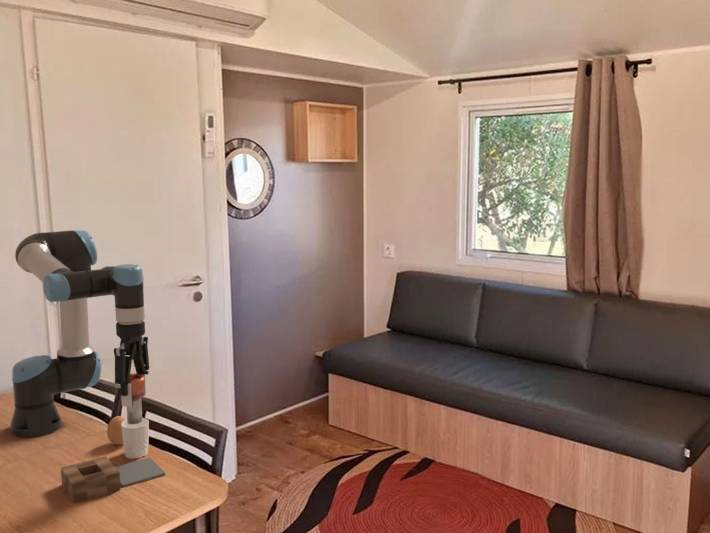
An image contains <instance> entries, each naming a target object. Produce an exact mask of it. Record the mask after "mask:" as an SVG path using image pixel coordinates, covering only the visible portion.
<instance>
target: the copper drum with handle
mask: <svg viewBox="0 0 710 533" xmlns="http://www.w3.org/2000/svg"><path fill="white" fill-rule="evenodd" d="M129 383H131V393H132V406H131V407H126V420H127V423H128V424H139V423H141V422H142V418H143V406H142V405H143V404H142V398H141V397H142V396H144V395H145V394H146V392H147V391H146V374H145V375H143V374H137V373H130V379H129Z"/></svg>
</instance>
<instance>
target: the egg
mask: <svg viewBox="0 0 710 533" xmlns="http://www.w3.org/2000/svg"><path fill="white" fill-rule="evenodd" d="M125 420H126V418H124V417H123V416H121V415H117V416H115V417H113V418H112V419H111V420H110V421H109V423H108V425H107V429H106V430H107V432H106V435H107V438H108V440H109V441H110V443H111V444H113V445H116V446H118V445H123V438H122V428H121V424H122V422H124V421H125Z"/></svg>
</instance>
